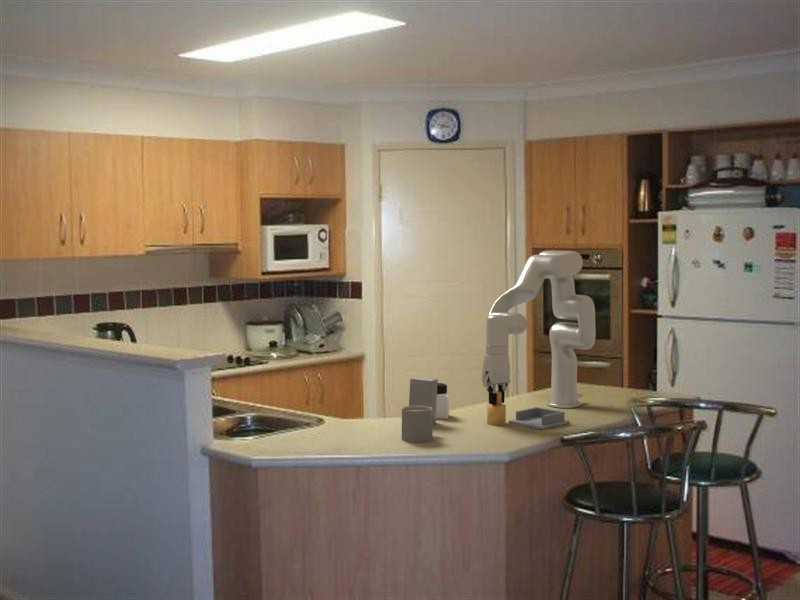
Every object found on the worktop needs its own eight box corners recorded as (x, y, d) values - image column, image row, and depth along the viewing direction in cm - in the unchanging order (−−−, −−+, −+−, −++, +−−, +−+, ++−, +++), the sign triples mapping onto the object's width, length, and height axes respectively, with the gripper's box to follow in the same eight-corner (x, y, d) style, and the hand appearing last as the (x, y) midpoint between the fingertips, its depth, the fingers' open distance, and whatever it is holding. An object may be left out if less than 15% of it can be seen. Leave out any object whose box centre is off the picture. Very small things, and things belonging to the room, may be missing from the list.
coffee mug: (415, 443, 316) (415, 412, 315) (395, 438, 324) (395, 407, 323) (446, 438, 324) (447, 407, 323) (427, 432, 332) (427, 403, 331)
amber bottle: (495, 420, 351) (495, 389, 350) (509, 423, 347) (509, 392, 346) (483, 423, 347) (483, 392, 346) (497, 426, 342) (497, 394, 341)
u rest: (537, 417, 358) (537, 406, 358) (569, 423, 348) (569, 411, 347) (508, 423, 347) (508, 412, 346) (540, 429, 337) (540, 418, 336)
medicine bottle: (448, 415, 362) (449, 382, 361) (447, 419, 354) (448, 385, 353) (429, 414, 362) (429, 381, 361) (427, 418, 355) (427, 385, 354)
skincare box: (407, 424, 345) (407, 378, 344) (415, 420, 352) (415, 375, 351) (430, 426, 342) (430, 380, 341) (437, 422, 349) (438, 377, 348)
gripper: (504, 347, 353) (503, 398, 355) (472, 351, 342) (472, 405, 343) (520, 349, 348) (520, 401, 349) (489, 354, 336) (489, 408, 338)
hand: (496, 402), depth 346 cm, fingers closed on amber bottle, 3 cm apart
